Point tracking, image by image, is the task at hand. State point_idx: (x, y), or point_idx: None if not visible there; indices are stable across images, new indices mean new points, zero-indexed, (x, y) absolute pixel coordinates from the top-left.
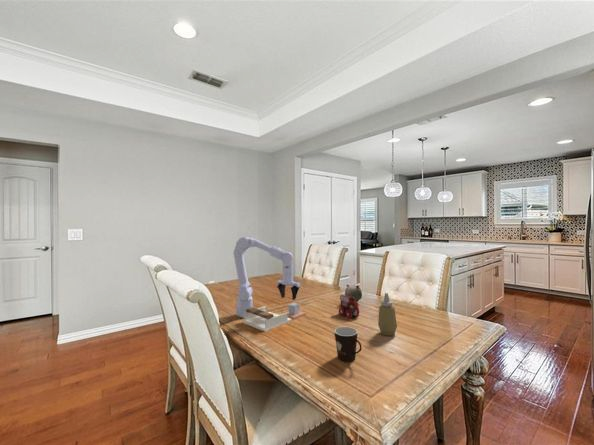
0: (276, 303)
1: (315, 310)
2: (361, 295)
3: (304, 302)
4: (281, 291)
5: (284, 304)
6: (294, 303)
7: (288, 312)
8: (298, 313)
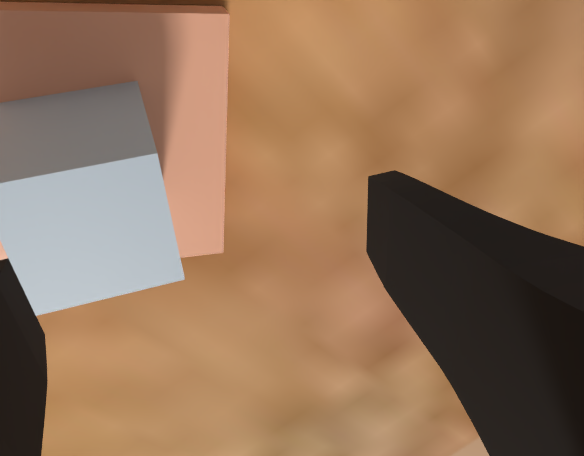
0: None
1: None
2: None
3: (320, 444)
4: (483, 264)
5: None
6: (123, 276)
7: (193, 119)
8: None
